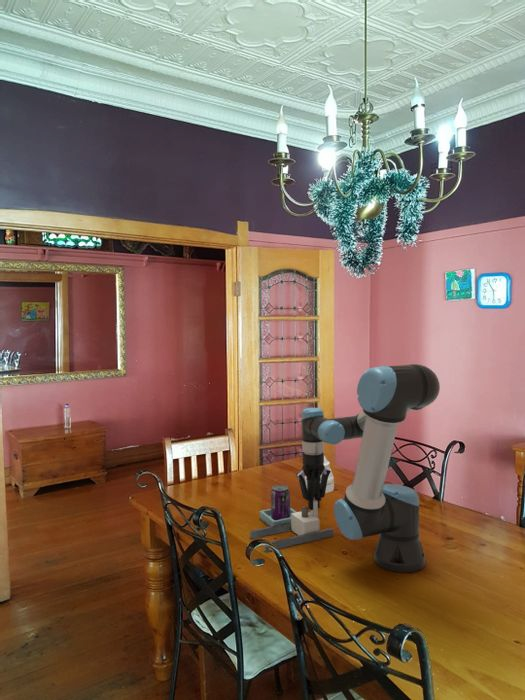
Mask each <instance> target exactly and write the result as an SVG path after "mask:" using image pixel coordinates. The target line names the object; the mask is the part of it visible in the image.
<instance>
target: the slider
mask: <svg viewBox="0 0 525 700" xmlns="http://www.w3.org/2000/svg"><path fill="white" fill-rule="evenodd" d="M320 528H321V527H320V518H319V517H318V518H316V517H315V516H313V515H312V514H310V512H309V508H308V506H302V507H301V509H300V511H296V513H291V531H292V532H293V533H295V534H296V536H298V535H302V534H307V533H311V532H316V531H320Z"/></svg>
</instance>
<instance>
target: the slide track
mask: <svg viewBox="0 0 525 700" xmlns="http://www.w3.org/2000/svg"><path fill="white" fill-rule="evenodd" d="M291 531H292V530H291V522H289V523H284V524H279V525H275V526H270V527H269V526H266V527H262V528H261V527H260V528H256V529H253V530H249V538H250V539H251V540H253V539H258V537H259V538H263V537H268V536H272V534H273V535H277V534H280V533H281V532H282V533H285V532H291ZM331 537H334V528H332V527H330V528H325V529H321V530H320V531H316V532H311V533H307V534H302V535H294V536H289V537H284V538H282V539H276V540H272V541H270V542H271V543H272V544H273V545H275V546H276V547H277V548H279V549H278V550H280V549H284V548H289V547H293V546H298V545H302V544H306V543H310V542H311V543H312V542H315V541H320V540H323V539H328V538H331ZM263 551H264V552H265V553H267V552H272V551H271V550H270V549H269V547H266V546H264V545H263Z"/></svg>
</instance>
